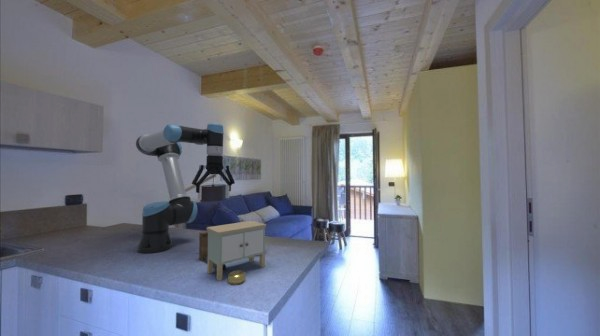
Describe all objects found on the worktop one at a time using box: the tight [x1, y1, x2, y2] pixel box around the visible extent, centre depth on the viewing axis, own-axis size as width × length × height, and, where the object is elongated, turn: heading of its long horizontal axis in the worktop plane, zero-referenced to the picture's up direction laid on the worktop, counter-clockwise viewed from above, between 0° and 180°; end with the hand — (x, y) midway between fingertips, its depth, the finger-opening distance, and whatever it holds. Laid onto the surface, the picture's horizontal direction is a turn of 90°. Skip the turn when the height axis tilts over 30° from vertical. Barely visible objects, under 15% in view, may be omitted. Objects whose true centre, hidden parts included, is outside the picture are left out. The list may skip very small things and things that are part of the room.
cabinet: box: [206, 220, 267, 282], centre depth 98 cm, size 12×21×18 cm, turn 133°
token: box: [227, 270, 246, 286], centre depth 87 cm, size 6×6×2 cm
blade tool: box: [198, 230, 227, 272], centre depth 103 cm, size 20×4×12 cm, turn 43°
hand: (213, 198), depth 118 cm, fingers open, 13 cm apart
